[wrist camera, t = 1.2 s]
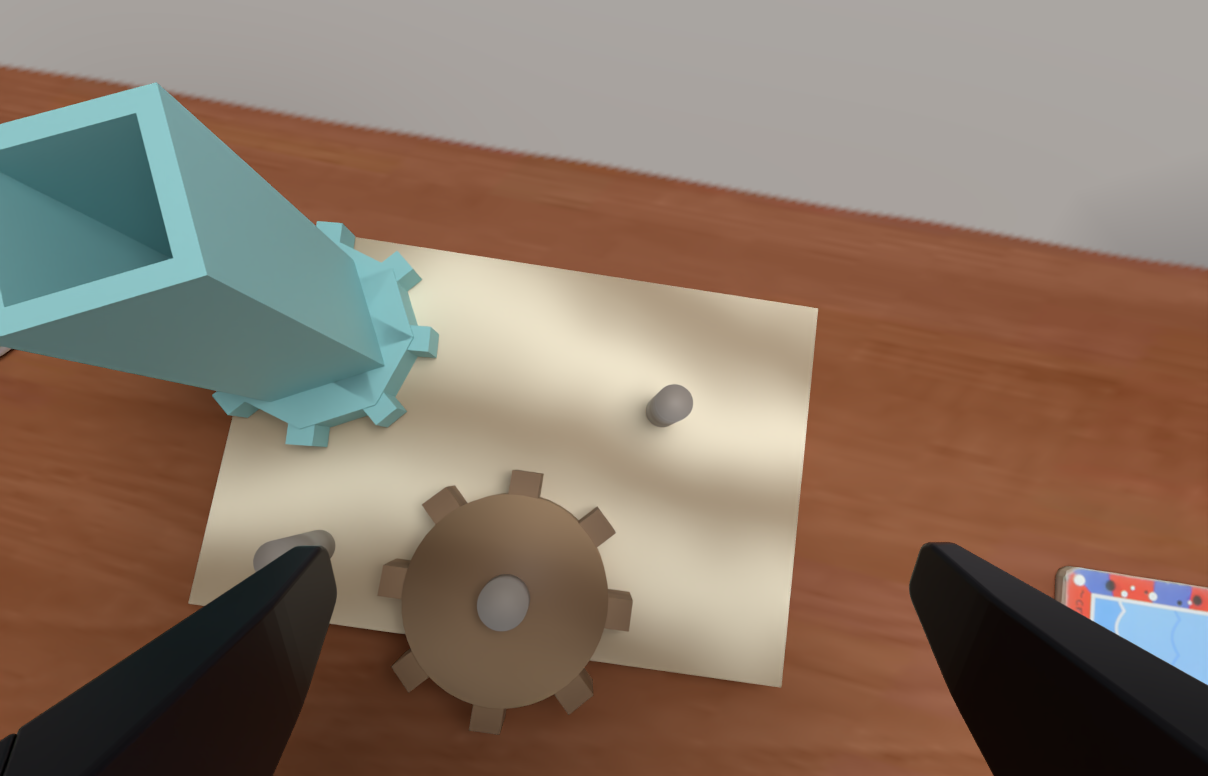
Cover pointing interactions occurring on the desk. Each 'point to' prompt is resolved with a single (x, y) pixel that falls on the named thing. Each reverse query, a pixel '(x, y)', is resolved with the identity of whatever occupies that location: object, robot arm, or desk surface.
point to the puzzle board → (1143, 613)
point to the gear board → (549, 485)
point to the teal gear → (194, 269)
